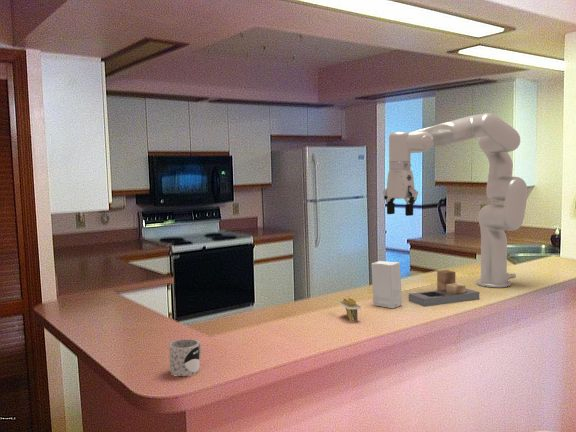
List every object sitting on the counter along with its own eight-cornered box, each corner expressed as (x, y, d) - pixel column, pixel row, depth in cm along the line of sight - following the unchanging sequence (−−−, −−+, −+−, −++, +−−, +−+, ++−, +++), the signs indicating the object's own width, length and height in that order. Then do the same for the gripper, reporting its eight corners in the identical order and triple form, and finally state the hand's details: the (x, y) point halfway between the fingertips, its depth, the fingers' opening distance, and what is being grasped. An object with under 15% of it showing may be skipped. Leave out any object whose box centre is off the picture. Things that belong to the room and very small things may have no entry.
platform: (342, 329, 153) (342, 307, 153) (321, 314, 170) (320, 294, 170) (380, 325, 157) (380, 303, 156) (355, 311, 174) (355, 291, 173)
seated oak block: (456, 296, 190) (456, 283, 189) (465, 299, 185) (465, 285, 185) (446, 298, 188) (446, 284, 187) (454, 300, 184) (454, 286, 183)
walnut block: (447, 290, 199) (447, 269, 198) (455, 293, 195) (455, 271, 194) (437, 292, 197) (437, 270, 197) (445, 294, 193) (445, 272, 192)
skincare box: (402, 305, 178) (402, 262, 176) (391, 309, 173) (391, 264, 172) (381, 302, 184) (381, 259, 183) (371, 305, 180) (370, 261, 178)
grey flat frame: (462, 293, 193) (462, 287, 193) (479, 299, 185) (479, 292, 185) (408, 300, 185) (408, 293, 185) (424, 306, 176) (424, 298, 176)
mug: (189, 378, 117) (188, 349, 117) (164, 375, 120) (163, 346, 119) (212, 363, 127) (211, 336, 126) (188, 360, 129) (187, 333, 129)
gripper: (425, 166, 183) (425, 215, 184) (391, 167, 198) (391, 213, 199) (408, 166, 179) (408, 216, 180) (375, 167, 194) (376, 214, 195)
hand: (399, 214), depth 190 cm, fingers open, 9 cm apart
